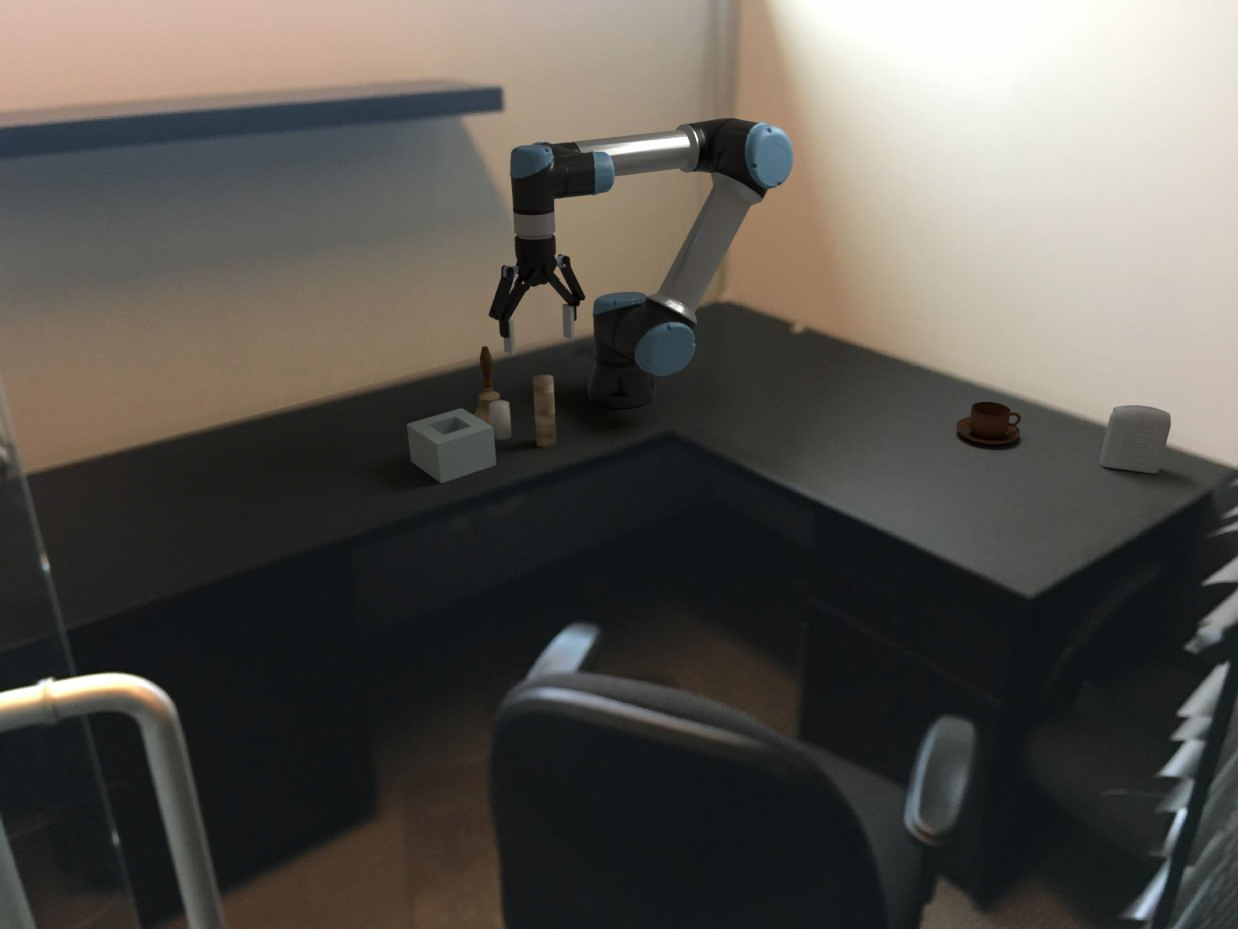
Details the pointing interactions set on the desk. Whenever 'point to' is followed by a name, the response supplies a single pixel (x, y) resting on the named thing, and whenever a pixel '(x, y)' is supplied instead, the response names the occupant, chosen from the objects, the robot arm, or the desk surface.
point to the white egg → (500, 419)
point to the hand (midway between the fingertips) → (540, 345)
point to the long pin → (544, 410)
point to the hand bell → (486, 387)
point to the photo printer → (1135, 438)
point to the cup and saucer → (989, 424)
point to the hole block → (451, 445)
